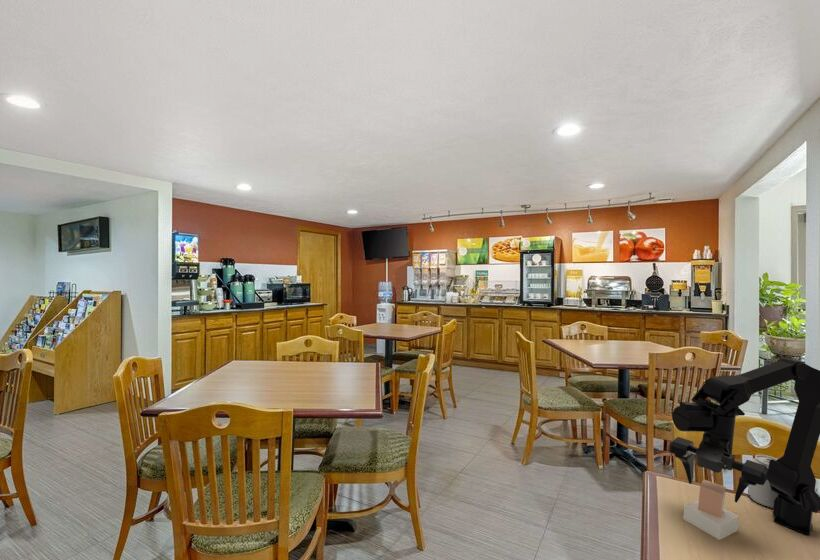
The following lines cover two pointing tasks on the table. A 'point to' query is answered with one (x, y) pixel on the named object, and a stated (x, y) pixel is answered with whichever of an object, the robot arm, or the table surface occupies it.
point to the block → (712, 498)
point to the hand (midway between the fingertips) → (712, 492)
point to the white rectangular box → (711, 521)
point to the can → (763, 491)
